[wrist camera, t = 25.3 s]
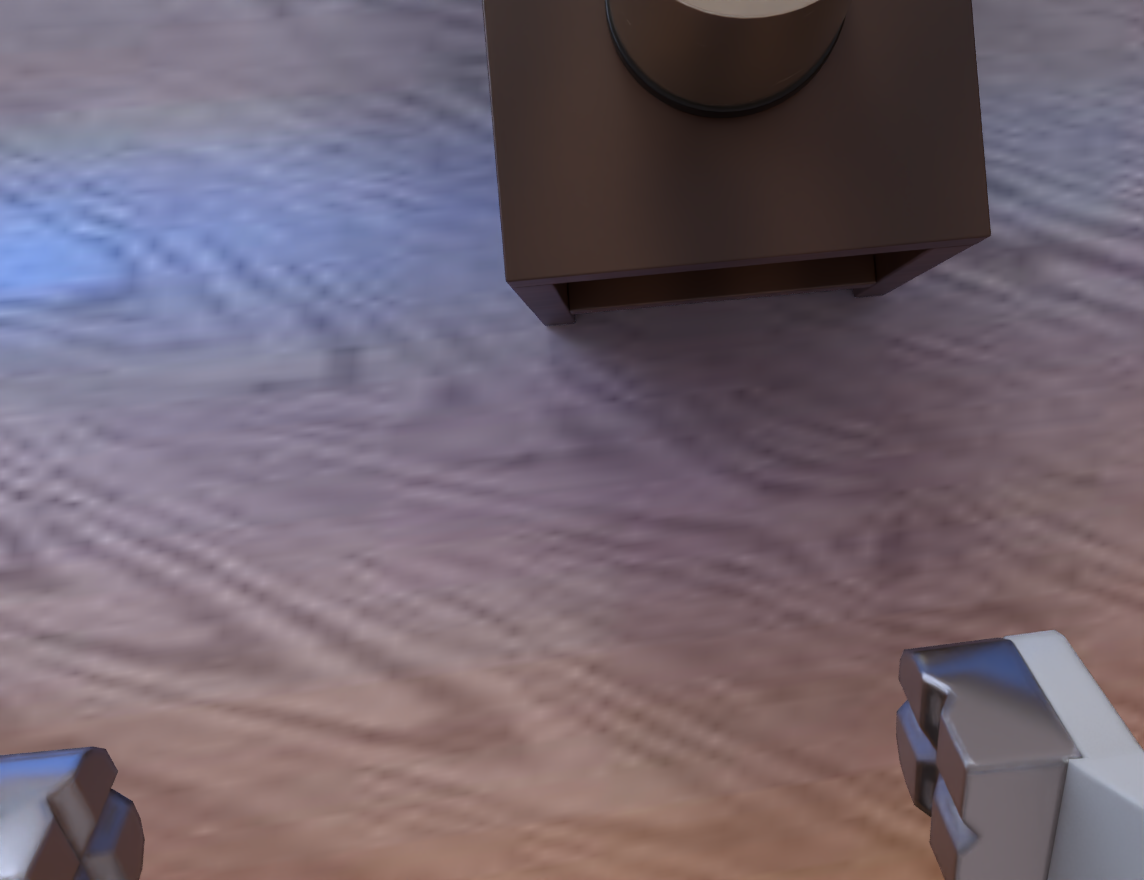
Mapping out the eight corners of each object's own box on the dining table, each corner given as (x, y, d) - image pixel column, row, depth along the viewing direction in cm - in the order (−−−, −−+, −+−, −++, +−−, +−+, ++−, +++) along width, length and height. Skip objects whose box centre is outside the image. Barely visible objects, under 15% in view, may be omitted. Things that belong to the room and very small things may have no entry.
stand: (544, 326, 40) (497, 273, 27) (505, -138, 40) (438, -425, 27) (885, 295, 40) (1013, 224, 26) (845, -178, 40) (953, -497, 26)
